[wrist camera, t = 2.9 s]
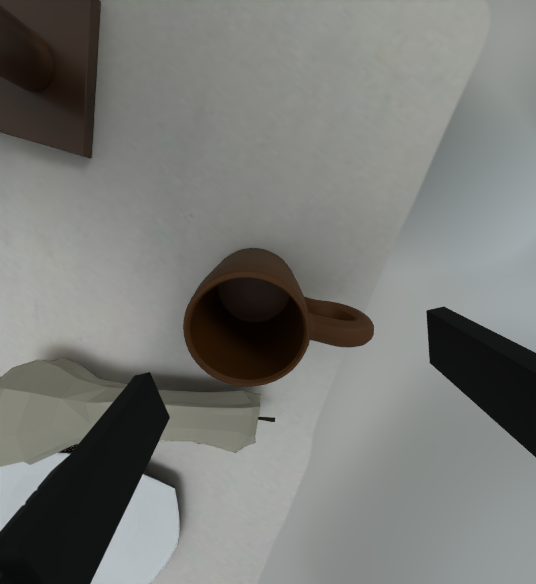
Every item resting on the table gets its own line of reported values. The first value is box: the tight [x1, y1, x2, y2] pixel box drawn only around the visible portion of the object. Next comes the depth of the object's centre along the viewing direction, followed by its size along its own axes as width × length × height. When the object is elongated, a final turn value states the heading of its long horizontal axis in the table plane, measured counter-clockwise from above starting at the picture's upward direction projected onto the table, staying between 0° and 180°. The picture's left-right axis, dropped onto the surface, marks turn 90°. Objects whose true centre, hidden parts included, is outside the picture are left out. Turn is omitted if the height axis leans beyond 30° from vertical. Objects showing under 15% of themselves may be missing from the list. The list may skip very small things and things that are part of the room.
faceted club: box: [0, 358, 275, 467], centre depth 23 cm, size 9×9×25 cm
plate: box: [0, 452, 179, 584], centre depth 31 cm, size 23×23×2 cm
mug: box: [183, 248, 374, 386], centre depth 19 cm, size 12×8×9 cm, turn 85°
